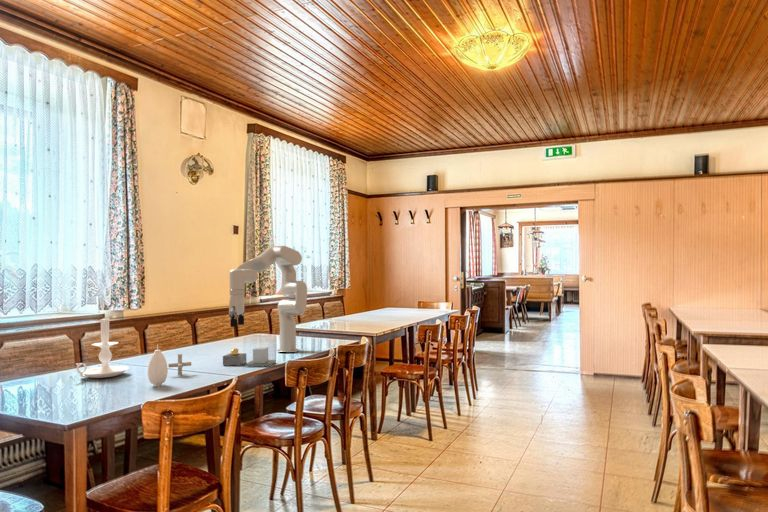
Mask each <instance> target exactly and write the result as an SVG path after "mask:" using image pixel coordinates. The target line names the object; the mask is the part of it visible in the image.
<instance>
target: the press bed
mask: <svg viewBox="0 0 768 512" xmlns="http://www.w3.org/2000/svg"><path fill="white" fill-rule="evenodd" d="M276 361H277V360H276V359H268V361H267V362H265V363H253V360H250V361H249V362H246V363H245V364H244V367H245V366H269V365H271V364H273V363H275V362H276ZM275 364H276V363H275ZM273 365H274V364H273ZM271 366H272V365H271ZM269 367H270V366H269Z"/></svg>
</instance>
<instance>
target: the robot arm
mask: <svg viewBox="0 0 768 512" xmlns="http://www.w3.org/2000/svg"><path fill="white" fill-rule="evenodd" d="M301 254H302V253H300V252H299V251H298V250H296V249H293V248H291V247H289V246H286V245H273V246H269V247H267V248H266V249H265V250H264V251H263V252H262V253H260V254H259V255H258V256H256V257H254V258H252V259H250V260H247V261H245V262H242V263H241V264H239V265H238V266H237V267H236V268H235V269H230V270H229V304H228V305H229V306H228V315H229V316H230V327H231V328H233V327H234V328H235V327H238V325H241V326H244V325H245V310H246V309H245V297H244V296H245V289H246V288H245V284H252V283H255V282H257V280H258V278H259V273H258V272H262V271H266V270H267V269H268V268H269V267H271V266H272V265H273V264H274V263H276V264H277V266H278V267H279V269H280V271H281V285H280V286H281V287H280V289H281V294H282V296H284V297H289V298H283V299H280V300H279V301H278V302H277V312H278V318H279V349H277V350H276V352H277V351H278V352H295V353H298V352H299V350H300V349H299V348H297V329H296V326H297V321H296V319H295V317H294V316H302V315H304V314H305V313H306V310H307V301H308V300H307V299H308V286H307V284H306V282H305V281H303V280H297V270H296V269H295V266H298V265H300V264H301V262H302V255H301ZM290 297H295V298H290ZM297 351H298V352H297ZM278 352H277V353H278Z"/></svg>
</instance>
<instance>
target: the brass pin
mask: <svg viewBox="0 0 768 512" xmlns="http://www.w3.org/2000/svg"><path fill="white" fill-rule="evenodd" d="M230 353H231V355H238V353H239V348H231V349H230Z"/></svg>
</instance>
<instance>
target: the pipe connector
mask: <svg viewBox="0 0 768 512" xmlns="http://www.w3.org/2000/svg"><path fill="white" fill-rule="evenodd" d="M190 366H192V361H185V362H183V354H182V353H178V354H177V362H172V363H171V362H170V363H167V367H168V368H177V376H178V375H182V376H183V367H190Z"/></svg>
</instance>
